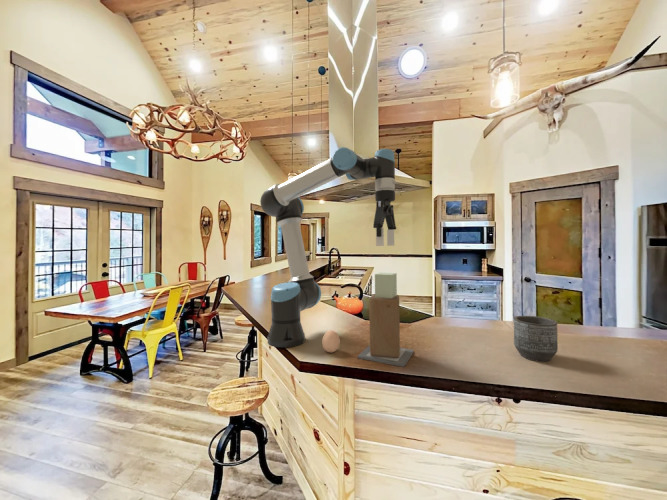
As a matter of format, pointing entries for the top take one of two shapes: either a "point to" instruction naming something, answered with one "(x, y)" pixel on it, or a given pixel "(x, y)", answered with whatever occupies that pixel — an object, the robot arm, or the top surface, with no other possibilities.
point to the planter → (535, 337)
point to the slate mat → (398, 361)
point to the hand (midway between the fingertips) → (385, 245)
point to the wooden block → (384, 326)
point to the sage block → (386, 285)
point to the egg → (331, 341)
